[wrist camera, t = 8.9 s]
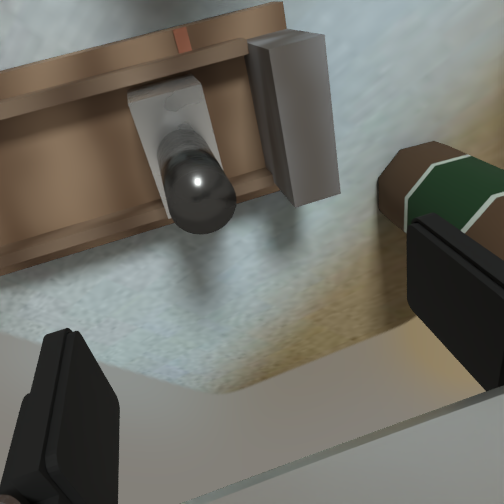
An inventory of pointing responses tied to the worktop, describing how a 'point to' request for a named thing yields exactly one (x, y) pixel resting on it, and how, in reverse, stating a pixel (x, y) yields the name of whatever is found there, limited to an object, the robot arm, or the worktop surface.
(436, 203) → the beer bottle
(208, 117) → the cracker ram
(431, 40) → the worktop surface
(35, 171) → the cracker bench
